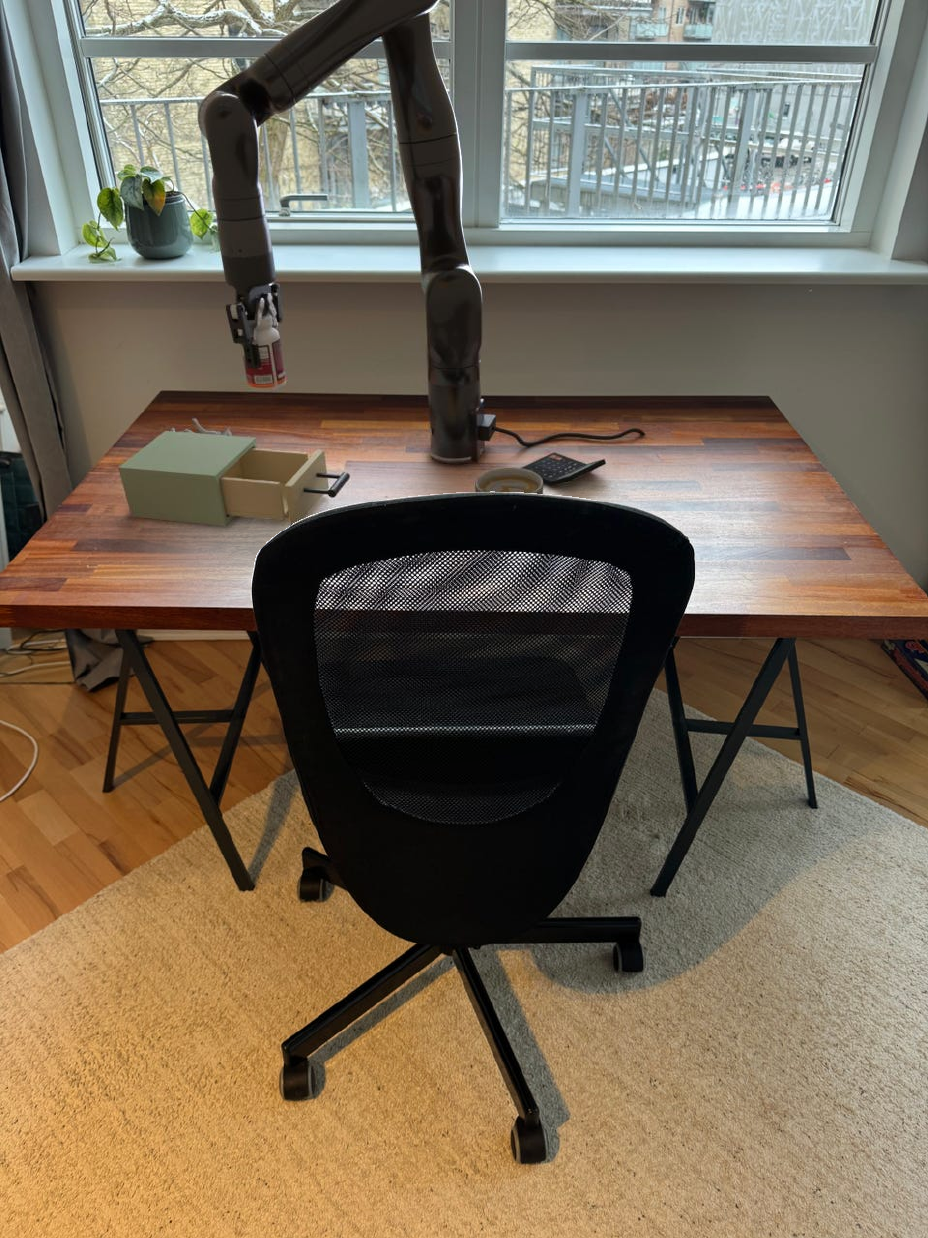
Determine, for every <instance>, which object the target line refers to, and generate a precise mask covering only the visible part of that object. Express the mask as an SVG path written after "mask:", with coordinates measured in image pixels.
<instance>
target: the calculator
mask: <svg viewBox="0 0 928 1238" xmlns="http://www.w3.org/2000/svg"><path fill="white" fill-rule="evenodd" d="M606 464H607V462H606V459H605V458H602V459H599V460H596V461H592V462H589V463H585V462H582V461H580V460H577V459H574V458H571V457H568V456H565V455H563V454H560V453H558V452H551V453H550V454H547V455H545V456H543V457H541V458H539V459H537V460H535V461H533V462H531V463H528V464H526V465H524V466H521V468H522V469H526V470H530V471H532V472H535V473H536V474H538V475H539V476H540V477H541V478H542V480H543V485H547V486H549V487H554V486H559V485H563V484H566V483H570V482H573V481H575V480H577V479H579V478H581V477H583V476H584V475H586V474H589V473H591V472H593V471H595V470H597V469H598V468H601V467H602V466H605V465H606Z"/></svg>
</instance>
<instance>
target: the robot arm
mask: <svg viewBox="0 0 928 1238" xmlns="http://www.w3.org/2000/svg"><path fill="white" fill-rule="evenodd" d="M439 2H440V0H337V1H336V2H335V3H333V4H332V5H330V6H329V7H328V8H325V9H324V10H322V11H320V12H319V13H318V14H316V15H315V16H313V17H311V18H310V19H308V20H307V21H305V22H304V23H302V24H300V25H299V26H298V27H296V28H295V29H293V30H292V31H290V32H289V33H287V35H285V36H283V37H282V38H281V39H280V40H279V41H277V42H276V43H275V44H273V45H272V46H271V47H270V48H269V49H267V50H266V51H265V52H263V53H262V54H261V55H260V56H259V57H258V58H257V59H256V60H255V61H254V62H253V63H252V64H250V65H249V66H248V67H247V68H245V69H243V70H241V71H240V72H239V73H237V74H235V75H234V76H232V77H230V78H229V79H227V80H226V81H224V82H223V83H221V84H220V85H219V86H217V87H216V88H214V89H213V90H212V91H211V92H210V93H208V94H207V95H206V96H205V97H204V98H203V99H202V101H201V102H200V104H199V106H198V110H197V116H196V117H197V118H196V119H197V125H198V128H199V130H200V133H201V134H202V136H203V137H204V139H206V142H207V146H208V152H209V159H210V163H211V168H212V178H211V192H212V198H213V204H214V210H215V215H216V216H215V217H216V227H217V230H216V231H217V238H218V239H217V240H218V245H219V251H220V256H221V263H222V268H223V269H222V270H223V273H224V281H225V283H226V284H227V285H228V286H230V287H233V289H234V290H235V299H234V300H235V302H234V303H227V304H226V305H225V312H226V316H227V321H228V324H229V329H230V333H231V337H232V341H233V343H234V344H237V345H238V344H239V345H241V344H242V345H243V349H244V355H245V361H246V366H247V367H248V368H252V369H258V368H259V367H261V361H260V354H259V348H258V344H257V338H258V330H259V329H261V321H262V317H264V316H265V315H267V313H268V314H270V315H271V316H272V322H273V325H272V327H273V328H275V329H276V330H277V331H278V330H279V324H280V323H282V322H283V320H284V319H283V306H282V298H281V297H282V296H281V285H280V283H278V282H275V281H276V279H277V273H276V265H275V259H274V252H273V251H274V250H273V244H272V237H271V230H270V226H269V223H268V219H267V215H266V207H265V199H264V194H263V188H262V187H263V186H262V183H261V176H260V175H261V174H260V172H261V171H260V168H261V167H260V165H261V164H260V163H261V162H260V142H259V141H260V140H259V133H258V132H259V131H258V128H259V127H260V126H262V125H263V124H264V123H266V122H267V121H268V120H270V119H271V118H272V117H273V116H276V115H279V114H283V113H285V112H287V111H289V110H291V108H294V106H296V105H297V104H298V103H299V102H301V101H302V100H303V99H304V98H306V97H307V96H308V95H309V94H310V93H312V92H313V91H315V89H317V88H318V87H319V86H321V84H323V83H324V82H325V81H326V80H327V79H328V78H330V77H331V76H332V75H333V74H335V73H336V72H337V71H338V70H339V69H341V68H342V67H343V66H344V65H345V64H347V63H348V62H349V61H350V60H351V59H353V58H354V57H355V56H356V55H358V54H359V53H360V52H361V51H363V50H364V49H366V48H367V47H369V45H372V44H373V43H374V42H375V41H377V40H379V39H381V42H382V46H383V50H384V56H385V61H386V65H387V72H388V81H389V82H388V83H389V91H390V99H391V105H392V112H393V118H394V124H395V133H396V140H397V146H398V147H397V148H398V152H399V158H400V164H401V171H402V174H403V175H402V176H403V179H404V184H405V188H406V192H407V195H408V200H409V205H410V207H411V211H412V214H413V218H414V222H415V227H416V231H417V238H418V248H419V259H420V260H419V262H420V281H421V282H420V283H421V284H420V287H421V294H422V297H423V301H424V304H425V322H426V324H425V325H426V345H425V352H426V353H425V355H426V376H427V377H426V378H427V390H428V391H427V395H428V397H427V398H428V414H429V415H428V416H429V424H428V423H427V424H428V425H427V426H428V427H427V428H428V432H429V435H430V456H431V458H432V459H433V460H435V461H437V462H439V463H444V464H450V465H459V464H467V463H478V462H479V461H480V459H481V457H482V456H483V453H484V451H485V449H486V445H485V443H486V442H490V441H491V439H492V437H493V435H494V434H495V432H498V433H501V434H505V435H509V436H511V437H512V438H514V439H515V440H516V441H517V442H518V444H520V445H521V446H524V447H534V446H537V445H541V444H543V443H547V442H549V441H552V440H555V439H560V438H580V439H589V440H598V441H611V440H612V441H614V440H617V439H621V438H622V437H626V436H627V435H629V434H633V433H637V434H639V435H641V436H645V435H646V433H645V432H644V431H643V430H642V429H640V428H637V427H631V428H628V429H627V430H624V431H622V432H620V433H618V434H613V435H596V434H589V433H579V432H560V433H556V434H555V433H554V434H552V435H549V436H547V437H544V438H541V439H539V440H535V441H524V440H523V439H522V437H521V436H520V435H518V434H517V433H516V432H514V431H511V430H509V429H505V428H502V427H498V426H497V414H486V413H485V400H484V398H482V380H481V376H482V375H481V373H482V372H481V350H482V347H483V294H482V293H483V292H482V287H481V284H480V282H479V279H478V278H477V276H476V275H475V272H474V271H473V269H472V266H471V262H470V258H469V254H468V250H467V245H466V240H465V235H464V230H463V220H462V208H463V207H462V206H463V162H462V159H463V158H462V151H461V144H460V135H459V127H458V122H457V119H456V114H455V110H454V107H453V105H452V101H451V98H450V95H449V93H448V89H447V88H446V84H445V81H444V80H443V77H442V73H441V72H440V68H439V65H438V62H437V58H436V55H435V54H436V53H435V51H434V50H435V49H434V45H433V44H434V43H433V35H432V25H431V15H430V11H432V10H433V9H434V8H435V7H436V6H437V4H439ZM247 320H252V321H254V322H253V323H248V321H247ZM249 329H251V335H250V331H249Z"/></svg>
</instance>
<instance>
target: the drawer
mask: <svg viewBox="0 0 928 1238" xmlns="http://www.w3.org/2000/svg"><path fill="white" fill-rule="evenodd" d="M327 469H328V468H327V461H326V455H325V449H316V450H315V452H313V454H312V455H311V456H310V457H309V452H308V451H296V450H282V449H271V448H251V449H250V450H248V451H247V452H246V453H245V454H244V455H243V456H242V457H241V458H240V459H239V460H238V461H237V462H236V463H235V464H234V465H233V466H232V467H230V468H229V469H228V470H227V471H226V472H225V473H224V474H223V475H222V476H221V477H220V478H219V483H220V488H221V493H222V497H223V502H224V507H225V512H226V515H235V517H247V518H255V519H256V518H257V519H267V520H276V521H285V520H286V519H287V518H288V517H289V523H290V526H291V525H292V524H293V523H295V522H297V521H299V520H301V519H303V518H304V519H305V518H306V517H307V516H308V514H309V513H310V512H311V511H312V509H314V507H315V506H316V504H317V503H318V502H319V501H320V500H321V499H322V497H323V496H324V495H327V496H328V497H329V498H332V499H333V498H334V499H335V497H336V496H337V495H338V494H339V493H340V491H341V490H342V489H343V488H344V486H345V485H346V484H347V482H348V481H349V480H350V478H351V475H350V473H349V472H347V471H343V472H342V473H328V470H327ZM329 479H333V480H334V479H336V480H335V482H333V484H332V485H331V486H330V487H329ZM304 519H303V520H304Z"/></svg>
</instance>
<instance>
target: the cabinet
mask: <svg viewBox="0 0 928 1238" xmlns="http://www.w3.org/2000/svg"><path fill="white" fill-rule="evenodd" d="M258 447H259V446H258V443H257V437H251V436H249V437H248V436H238V435H237V436H236V435H232V436H226V435H213V434H202V433H201V432H199V433H197V432H193V433H187V432H180V431H175V432H174V431H171V430H165V431H163V432H162V433H160V434H159V435H157V436H156V437H155V438H153V440H151V441H150V442H149V443H148V444H146V445H145V446H144V447H142V448H141V449H140V450H139V451H137V452H136V453H134V454H133V455H132V456H131V457H130V458H128V459H126V461H124V462H123V463H122V464H120V465H119V466H117V469H118V473H119V476H120V480H121V484H122V487H123V491H124V495H125V498H126V501H127V507H128V509H129V512H130V517H131V518H140V519H142V518H143V519H148V520H149V519H150V520H161V521H169V522H170V521H171V522H178V523H179V522H181V523H190V524H201V525H210V526H218V527H219V526H220V527H226V526H227V525H228V524H230V522H231V521H232V520H233V519H234V518H235V517H236V516H235V515H226V512H225V507H224V502H223V497H222V493H221V488H220V483H219V478H220V477H221V476H222V475H223V474H224V473H225V472H226V471H227V470H228V469H229V468H230V467H232V466H233V465H234V464H235V463H236V462H237V461H238V460H239V459H240V458H241V457H242V456H243V455H244V454H245V453H246V452H247V451H248V450H250V449H251V448H258Z"/></svg>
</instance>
